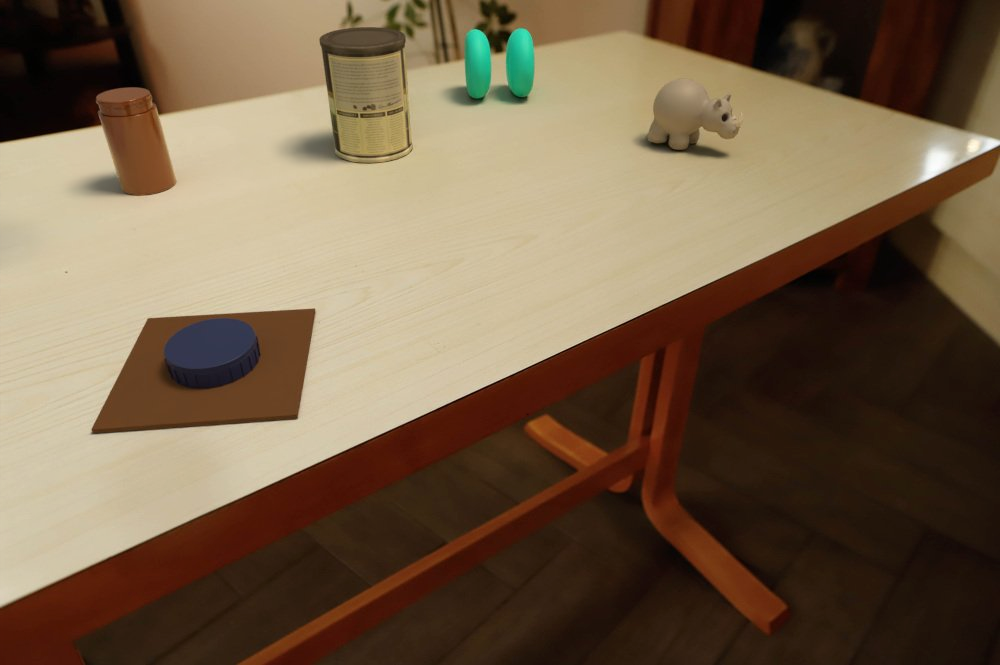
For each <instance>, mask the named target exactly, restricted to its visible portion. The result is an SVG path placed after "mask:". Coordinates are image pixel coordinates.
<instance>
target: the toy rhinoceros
mask: <svg viewBox="0 0 1000 665" xmlns="http://www.w3.org/2000/svg"><path fill="white" fill-rule="evenodd" d="M731 96H732V93H728V94H726V95H725V96H724V97H722V98H713V99H710V96H709V93H708V92H707V90H706V88H705V87H704V85H702V84H701V83H700V82H698V81H696V80H694V79H692V78H687V77H681V78H676V79H672V80H671V81H669V82H667V83H666V84H664V85H663V86H662V87H661V88H660V89H659V90H658V92H657V94H656V96H655V98H654V100H653V101H654V102H653V105H652V106H653V107H652V111H653V120H652V122H651V124H650V126H649V129H648V133H647V140H648V141H649V142H650V143H653V144H664V143H666V142H667V141H668V146H669V147H670V148H671V149H673V150H677V151H684V150H686V149H688V147H689V145H692V144H696V143H698V142H699V139H700V134H701V133H700V128H701V127H702V128H703V129H704V130H705V131H706V132H710V133H716V134H717V135H718V136H719V137H720V138H722V139H723V140H732V139H734V138H736V136H737V135H738V134H739V131H740V128H741V126H742V124H743V122H744V121H743V120H744V118H743V112H740V114H739V116H738V118H737V119H736V117H737V116H736V115H733V107H732V105H731V104H730V100H731Z"/></svg>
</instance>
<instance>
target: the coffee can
mask: <svg viewBox="0 0 1000 665" xmlns="http://www.w3.org/2000/svg"><path fill="white" fill-rule="evenodd" d="M406 38H407V37H406V34H405V33H404V32H402V31H400V30H398V29H394V28H387V27H376V26H361V27H359V26H358V27H348V28H347V27H346V28H341V29H336V30H332V31H329V32H326V33H323V35H321V36H320V37H319V40H318V41H319V45H320V48H321V54H322V61H323V68H324V75H325V76H324V77H325V85H326V92H327V97H328V99H327V100H328V106H329V114H330V121H331V122H330V123H331V129H332V137H333V144H334V154H336V156H337V157H339V158H340V159H343V160H346V161H348V162H353V163H361V164H362V163H365V164H372V163H375V164H376V163H385V162H389V161H394V160H397V159H401V158H403V157H405V156H407V155H408V154H409V153H410V152H411V151H412V150H413V147H414V146H413V142H412V141H413V140H412V128H411V126H412V125H411V114H410V113H411V112H410V100H409V85H408V82H409V81H408V70H407V56H406V42H407V40H406Z"/></svg>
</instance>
